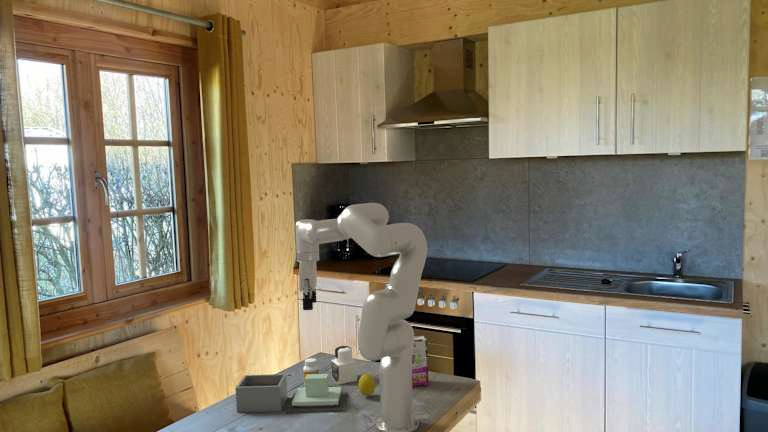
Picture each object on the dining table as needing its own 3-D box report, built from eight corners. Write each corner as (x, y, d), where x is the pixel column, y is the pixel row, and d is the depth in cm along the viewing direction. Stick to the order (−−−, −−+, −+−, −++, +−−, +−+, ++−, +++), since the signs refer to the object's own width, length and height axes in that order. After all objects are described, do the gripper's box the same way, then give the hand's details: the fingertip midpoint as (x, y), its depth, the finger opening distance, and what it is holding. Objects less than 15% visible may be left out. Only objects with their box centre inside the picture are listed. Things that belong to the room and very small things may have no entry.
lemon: (366, 392, 195) (365, 369, 195) (379, 395, 192) (378, 372, 191) (355, 397, 191) (354, 374, 190) (368, 401, 188) (367, 377, 187)
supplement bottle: (316, 390, 199) (315, 362, 198) (301, 389, 200) (300, 362, 199) (321, 384, 204) (320, 357, 203) (307, 383, 205) (305, 357, 204)
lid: (341, 393, 193) (340, 369, 193) (338, 407, 182) (337, 382, 181) (298, 394, 194) (297, 370, 193) (292, 408, 182) (290, 383, 181)
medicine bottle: (331, 378, 209) (330, 346, 208) (350, 374, 212) (348, 343, 211) (338, 385, 203) (337, 351, 202) (357, 381, 206) (356, 348, 205)
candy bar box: (426, 380, 204) (424, 335, 203) (428, 385, 199) (427, 339, 198) (394, 383, 203) (393, 337, 201) (396, 388, 198) (395, 341, 196)
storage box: (287, 397, 194) (286, 374, 193) (280, 411, 183) (279, 386, 182) (246, 398, 194) (244, 375, 193) (237, 412, 183) (235, 387, 182)
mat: (347, 393, 195) (347, 391, 195) (343, 411, 181) (343, 408, 181) (294, 395, 195) (294, 392, 195) (286, 412, 181) (286, 410, 181)
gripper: (300, 252, 202) (302, 300, 204) (292, 261, 185) (294, 313, 187) (321, 251, 202) (323, 299, 204) (316, 260, 185) (318, 312, 187)
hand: (309, 306), depth 195 cm, fingers open, 9 cm apart
